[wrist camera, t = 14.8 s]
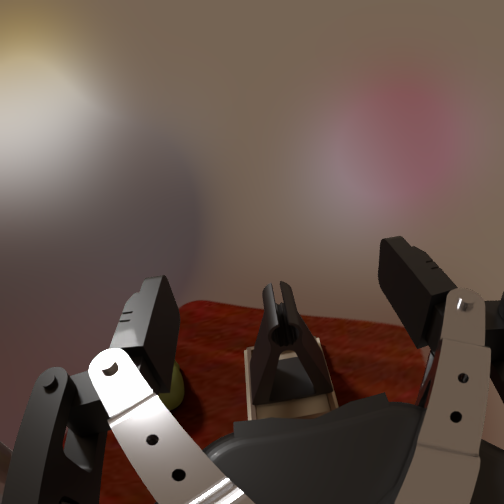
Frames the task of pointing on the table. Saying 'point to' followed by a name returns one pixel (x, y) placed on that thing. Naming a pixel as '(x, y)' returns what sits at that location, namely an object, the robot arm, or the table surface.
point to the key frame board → (294, 407)
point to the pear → (174, 390)
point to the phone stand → (291, 369)
